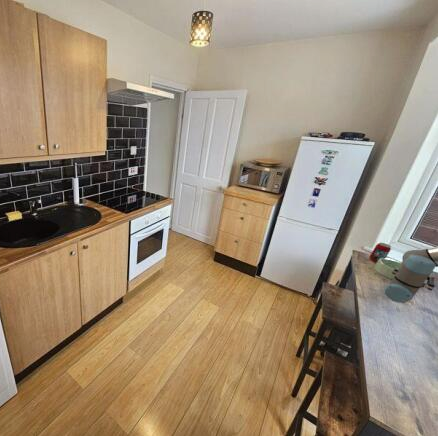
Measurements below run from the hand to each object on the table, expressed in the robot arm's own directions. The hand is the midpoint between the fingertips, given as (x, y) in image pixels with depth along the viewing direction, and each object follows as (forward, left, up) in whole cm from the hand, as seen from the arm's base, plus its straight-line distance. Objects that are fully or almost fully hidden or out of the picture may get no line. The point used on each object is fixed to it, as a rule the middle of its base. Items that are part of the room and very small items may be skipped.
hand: (422, 269), depth 111 cm
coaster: (0, +5, -16) cm, 17 cm away
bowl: (+10, -19, -16) cm, 27 cm away
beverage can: (+20, -30, -16) cm, 39 cm away
